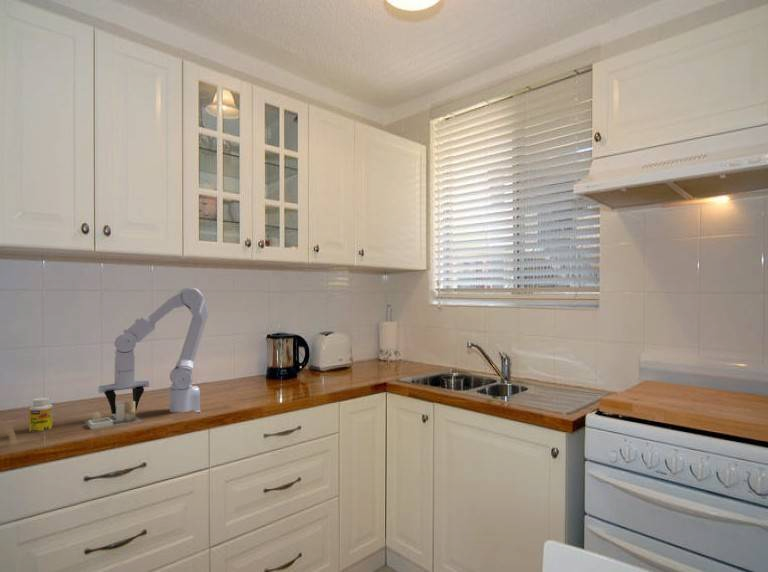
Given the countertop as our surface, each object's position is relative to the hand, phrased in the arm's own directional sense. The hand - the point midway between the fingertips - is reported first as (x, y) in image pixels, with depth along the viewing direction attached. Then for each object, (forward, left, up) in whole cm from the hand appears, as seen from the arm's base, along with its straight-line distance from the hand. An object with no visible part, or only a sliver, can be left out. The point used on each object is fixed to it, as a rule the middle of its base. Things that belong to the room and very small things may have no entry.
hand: (124, 411), depth 151 cm
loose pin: (0, +7, -2) cm, 7 cm away
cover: (0, 0, -2) cm, 2 cm away
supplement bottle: (+22, -1, -3) cm, 22 cm away
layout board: (+4, +4, -3) cm, 6 cm away
